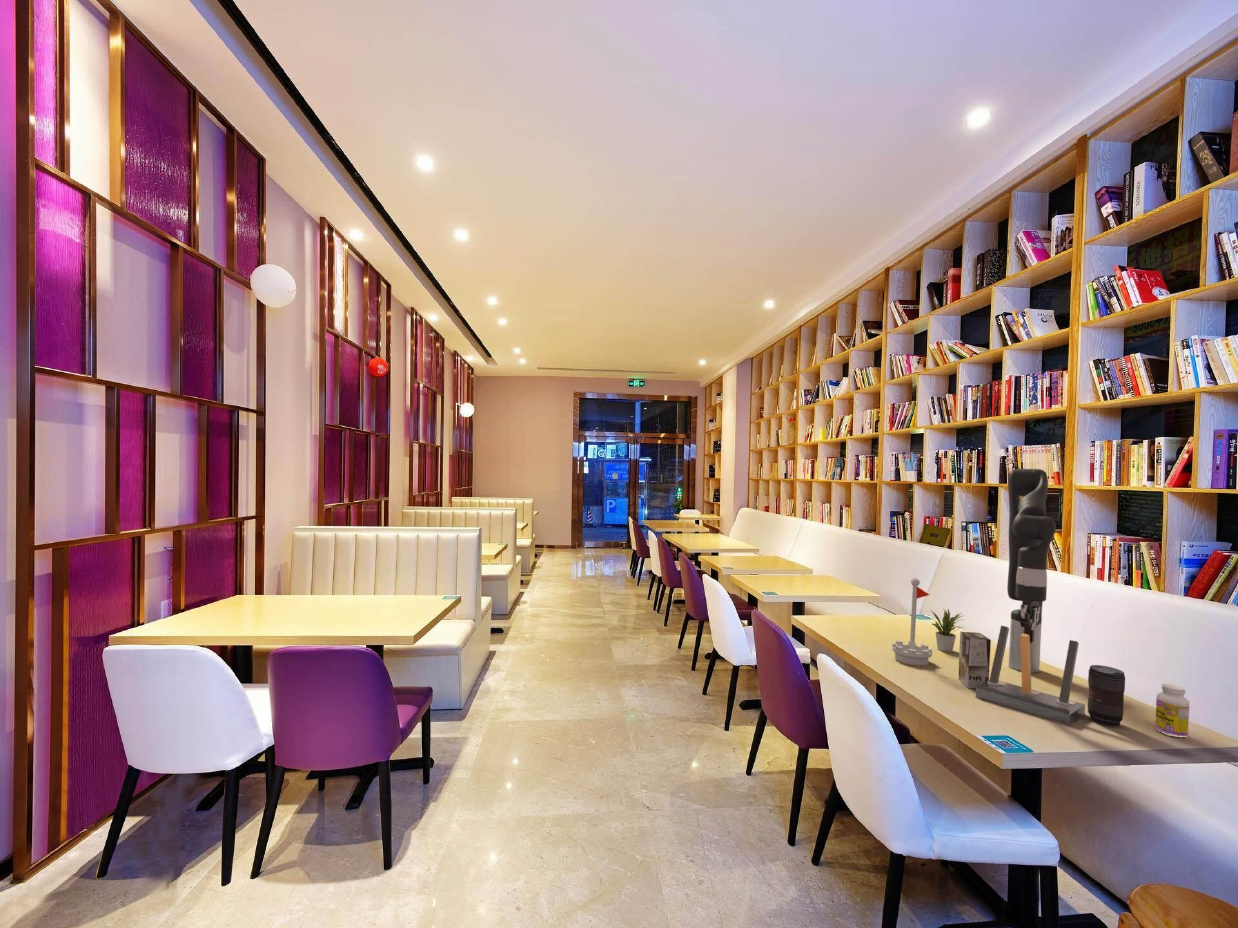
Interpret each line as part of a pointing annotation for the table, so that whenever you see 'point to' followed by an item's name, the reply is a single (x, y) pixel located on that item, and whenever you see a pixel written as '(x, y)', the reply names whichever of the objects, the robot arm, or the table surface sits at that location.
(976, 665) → the coffee box
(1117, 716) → the camera lens
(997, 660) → the lever low
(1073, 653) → the lever high
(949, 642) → the house plant
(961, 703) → the table surface
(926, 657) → the flag stand
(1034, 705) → the breaker panel
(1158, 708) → the supplement bottle
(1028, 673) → the lever mid
